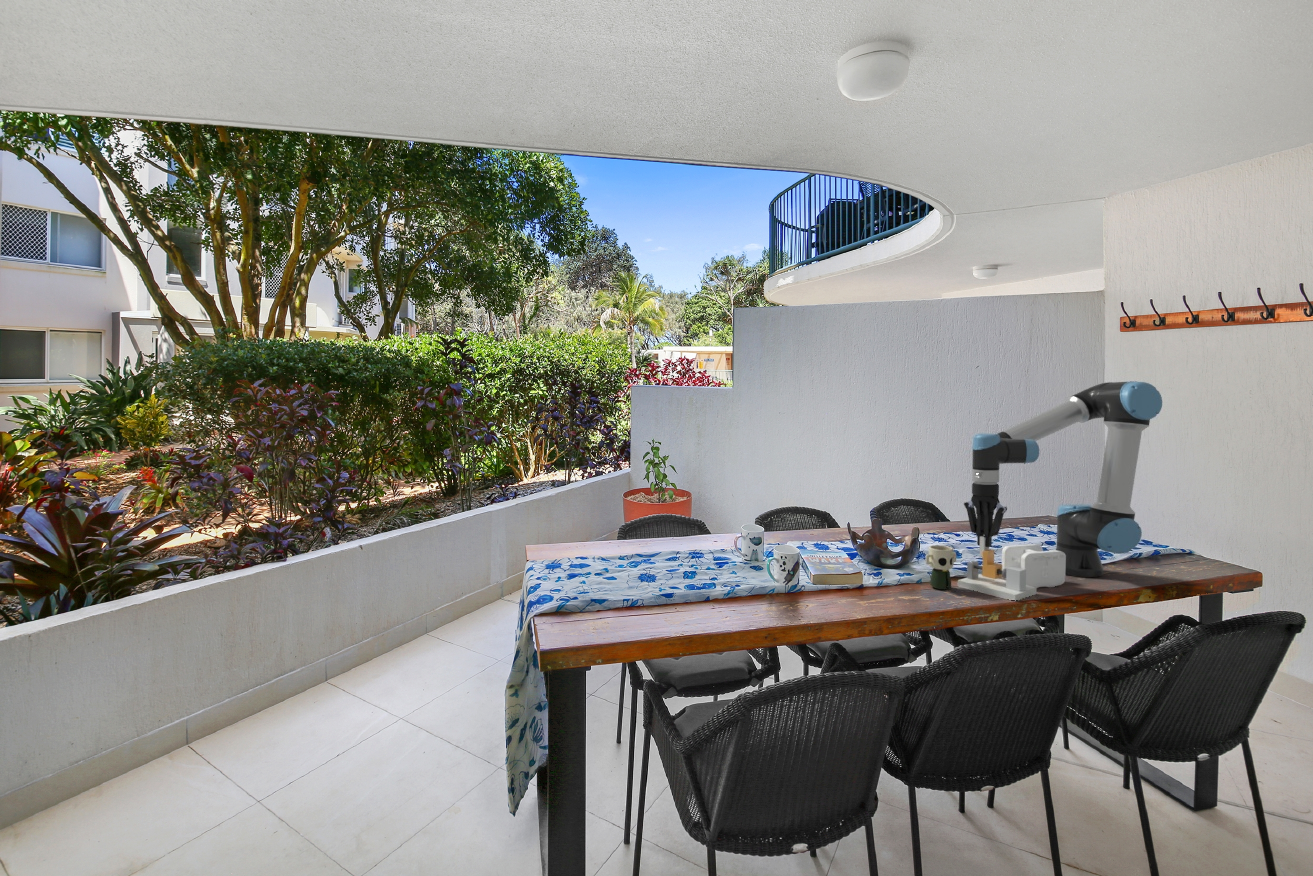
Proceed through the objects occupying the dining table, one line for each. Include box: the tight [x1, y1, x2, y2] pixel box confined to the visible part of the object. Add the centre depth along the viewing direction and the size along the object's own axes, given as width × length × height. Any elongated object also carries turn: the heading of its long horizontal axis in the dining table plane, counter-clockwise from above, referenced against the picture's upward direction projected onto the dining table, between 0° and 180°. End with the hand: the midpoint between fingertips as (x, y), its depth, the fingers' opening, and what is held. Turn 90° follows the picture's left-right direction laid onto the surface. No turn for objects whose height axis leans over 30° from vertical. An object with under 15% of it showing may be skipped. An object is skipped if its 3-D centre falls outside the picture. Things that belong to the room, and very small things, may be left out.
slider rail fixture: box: [957, 560, 1037, 602], centre depth 194 cm, size 12×18×8 cm, turn 32°
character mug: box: [925, 544, 957, 590], centre depth 197 cm, size 11×7×13 cm, turn 103°
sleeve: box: [981, 548, 1003, 579], centre depth 195 cm, size 4×4×8 cm
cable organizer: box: [1001, 543, 1066, 589], centre depth 200 cm, size 15×11×12 cm
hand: (984, 556), depth 197 cm, fingers closed
